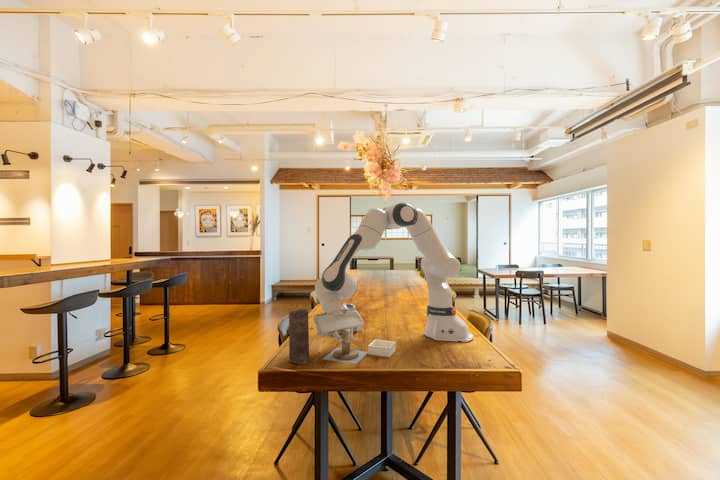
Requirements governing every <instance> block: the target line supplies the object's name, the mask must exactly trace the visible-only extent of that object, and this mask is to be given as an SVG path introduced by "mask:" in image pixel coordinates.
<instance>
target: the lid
mask: <svg viewBox="0 0 720 480" xmlns="http://www.w3.org/2000/svg"><path fill="white" fill-rule="evenodd" d="M341 337H343V339H344V342H343V343H341V348H342V349H339V350H336V351H334V350H333V351H334V352H333V356H334V358H336V359H340V360H351V359H355V358H357V357H358V356H359V352H358V351H359V350H357V351H356V349H352V348H351V341H350V329H343V330H342V333H341Z"/></svg>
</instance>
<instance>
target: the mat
mask: <svg viewBox="0 0 720 480" xmlns="http://www.w3.org/2000/svg"><path fill="white" fill-rule="evenodd" d="M339 349H342V347H341V348H340V347H337V348H335V349H334V350H332V351H331V352H330V353H329V354H327V355H325V356H324V357H323V358H322V360H325V361H330V362H331V361H333V362H337V363H338V362H340V363H344V364H345V363H346V364H351V365H352V364H353V365H357V364H358V363H359V362H360V361H361V360H362V359H364V357H366V356H367V355H368V351H362V350H356V349H355V350H356V351H358V352H359V356H358V357H357V358H355V359H351V360H340V359H336V358H334V356H333V352H334V351H336V350H339Z"/></svg>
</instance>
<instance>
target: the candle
mask: <svg viewBox="0 0 720 480" xmlns="http://www.w3.org/2000/svg"><path fill="white" fill-rule="evenodd" d="M288 330H289V331H288V338H289V340H288V341H289V342H288V347H289V348H288V352H289V353H288V355H289V358H288V361H290V363H293V364H299V365H304V364H308V363H310V340H309V339H310V335H309V333H310V332H309V331H310V330H309V310H308V309H307V308H306V309H305V308H297V309H295V310H289V311H288Z"/></svg>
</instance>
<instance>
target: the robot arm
mask: <svg viewBox="0 0 720 480" xmlns="http://www.w3.org/2000/svg"><path fill="white" fill-rule="evenodd" d="M404 227H405V229H406V230H407V231H408V233H409V235H410V237H411V239H412V242H413V243H414V244H415V246H416V249H417V250H418V251H419V252H420V253H421V254H422V255H423V257H422V258H421V261H420V267H421V269H422V272H423V273H424V277H425V281H426V286H427V306H426V316H427V319H426V327H425V329H424V330H425V331H424V336H425V337H428V338H431V340H434V341H441V342H442V341H444V342H458V341H461V342H463V343H469V341H470V342H472V341H473V340H474V335H473V333H472V332H469V327H468V324H467V322H466V321H465V320H463V319H462V318H461V317H459V316H458V315H457V309H456V307H454V306H453V305H452V300H453V299H452V297H453V296H452V288H451V287H450V285H449V283H448V280H447V279H452V278H456V277H458V275H459V274H460V273H461V271H462V264H461V262H460V260H459V259H458V258H457V257H455V256H454V255H453V253H451V252H450V251H449V249H448V248H447V247H446V246H445V245H444V243H443V242H442V240H441V239H440V238H439V236H438V234H437V232H436V231H435V229H434V227H433V225H432V223H431V221H430V219H429V218H428V217H427V215H426V213H425V212H424V211H423V210H422V209H420V208H415V207H414V206H412V205H411V204H410V203H408V202H400V203H395V204H391V205H389V206H387V207H384V208H383V209H381V208H378V207H372V208H370V209H369V210H368V211H367V213H366V214H365V215H364V217H363V218H362V220H361V221H360V224H359V225H358V227H357V229H356V230H355V232H354V233H353V234H351V235H350V236H349V237H348V238H347V240H346V241H344V244H343V245H342V247H341V248H340V250H339V251H338V252H337V255H336V256H335V257H334V259H333V260H332V262H330V264H329V265H328V266H326V268H325V269H324V271H323V273H322V275H321V277H320V278H318V280H316V283H315V285H314V291H315V294H316V298H317V300H318V302H320V304H319V305H320V306H321V310H322V312H320V313H316V314H315V315H313V317H312V319H313V322H314V324H315V329H316V332H317V335H318V336H320V337H324V336H325V337H326V336H331V335H332V336H333V337H334V338H335V339H336V340H337V342H338V343H339V344H342V343H343V342H344V339H343V337H342V336H340V334H342V330H343V329H350V342H352V341H354V339H355V338H354V333H353V331H354V330H356V331H359V330H361V329H362V328H363V326H364V320H363V318H362V316H361V314H360V313H359V312H358V310H356V305H354V304H351V303H347V302H343V301H345V300H347V299H349V298H350V297H351V296H352V297H353V295H355V293H356V292H357V290H358V281H357V279H356V278H355V277H354V276H353V275H351V274H350V273H348V272H347V267H348V266H349V264H350V263H351V261H352V259H353V258H354V256H355V255H356V254H357V252H360V251H365V252H366V251H372V250H374V249H376V247H377V246H378V245H379V244H380V243H379V242H380V241H381V239H382V236H383V234H384V232H385V231H386V230H399V229H401V228H404ZM472 339H473V340H472ZM471 340H472V341H471Z"/></svg>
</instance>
